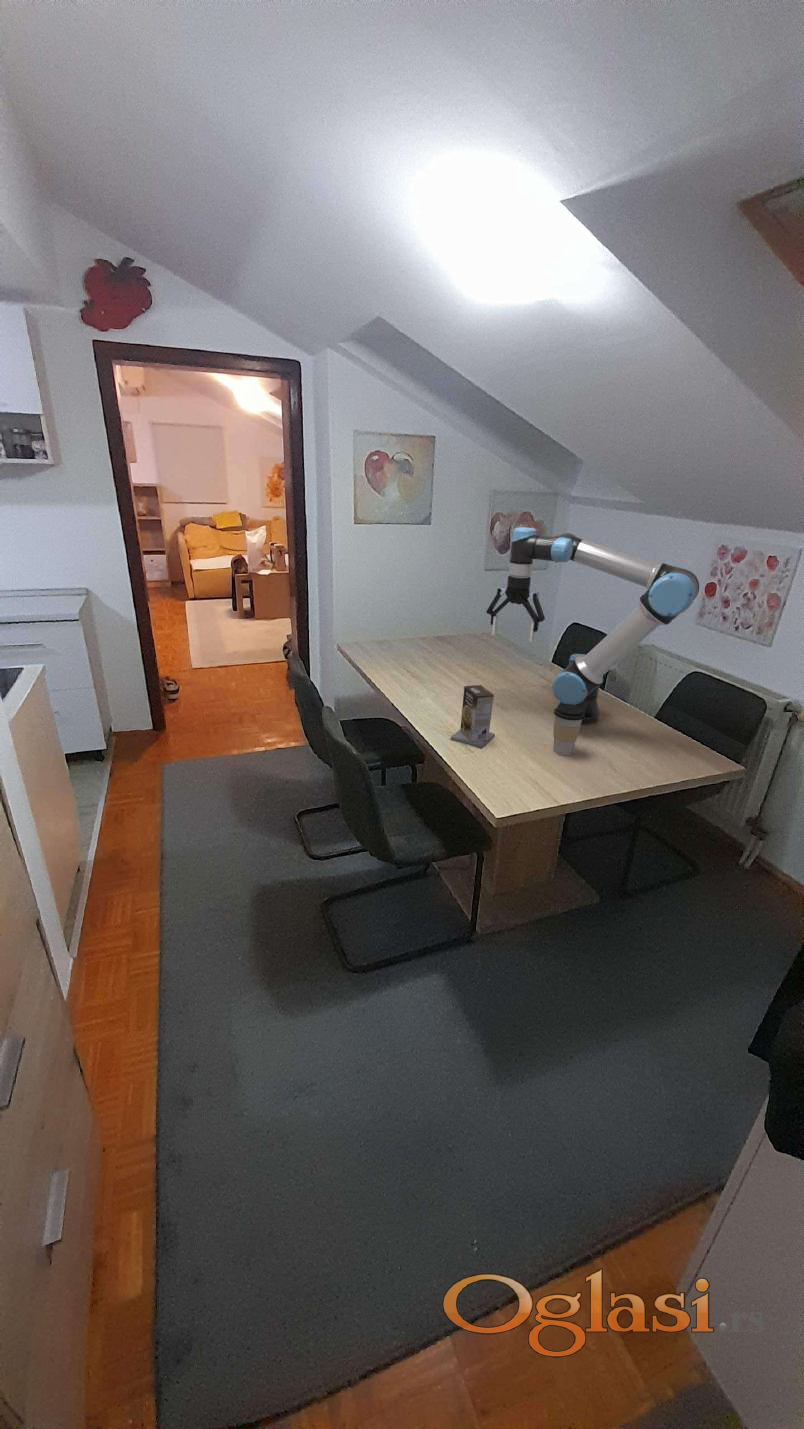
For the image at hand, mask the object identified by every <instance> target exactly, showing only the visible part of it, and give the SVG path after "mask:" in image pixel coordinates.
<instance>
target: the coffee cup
mask: <svg viewBox="0 0 804 1429" xmlns="http://www.w3.org/2000/svg"><path fill="white" fill-rule="evenodd" d="M553 715H554V720H553V744H552V745H553V749H552V750H553V752H554V753H555V754H557V755H561V756H571V755H572V754H573V751H574V748H575V745H576V742H577V740H578V736H579V732H580V730H581V726H582V724H581V722H582V719H584V718H585V716H584V715H585V714H584V712H583V709H582V708H581V707H579V706H576V705H573V704H560V705H558V704H557V707H556V708H554V711H553Z"/></svg>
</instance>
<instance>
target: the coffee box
mask: <svg viewBox="0 0 804 1429" xmlns="http://www.w3.org/2000/svg"><path fill="white" fill-rule="evenodd" d="M494 695H495V694H493V693H492V692H491V691H489V690H488V689H486V687H484V686H483V685H481V684H477V685H465V686H463V698H462V699H463V700H462V706H461V718H460V729H459V730H460V731H461V732H462V733H463V734H464V735H466V736H467V737H468V738H469V739H470V740H471V741H472V742H474V741H482V740H488V737H489V732H490V729H491V728H490V726H491V720H492V712H493V704H494Z"/></svg>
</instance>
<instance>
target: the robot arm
mask: <svg viewBox="0 0 804 1429" xmlns="http://www.w3.org/2000/svg"><path fill="white" fill-rule="evenodd" d="M510 541H511V544H510V545H511V546H510V555H509V556H510V557H509V558H510V559H509V565H508V566H509V567H508V574H509V575H508V577H507V584H506V589H505V588H503V587H499V588H497V591H496V594H495V596H494V598H493V599H492V601H491V602H490V604H489V606H488V608H487V609H486V614H489V616H490V625H491V626H492V629H491V630H492V631H491V636H495V635H497V631H498V623H499V615H497V614H498V613H500V611H501V610H503V608H505V607H506V606H507V605H508V604H509V603H511V604H516V605H522V606H523V607H524V608H525V610H526V611H527V613H528V615H529V616H530V618H531V619H532V622H531V625H530V632H529V633H530V634H529V642H533V641H534V640H535V634H536V633H537V632H538V630H539V625H540V623H542V622H543V621H545V620H546V618H545V614H544V611H543V608H542V605H541V602H540V600H539V592H538V591H536V592H531V591H530V588H531V580H532V579H531V577H530V576H531V575H532V571H533V563H534V560H538V561H539V560H540V561H547V562H555V563H567V562H569V561H572V562H575V563H578V564H581V565H583V566H585V567H589V568H592V569H594V570H596V571H597V570H598V571H600V572H603V573H605V574H608V575H611V576H614V577H616V578H619V579H622V580H625V581H628V582H630V583H633V584H635V585H639V586H641V587H644V588H646V591H645V592H644V593H643V594H642V595H641V596H640V597H639V598H638V606H636V608H635V609H633V610H632V612H630V613H629V614H628V615H627V616H626V617H625V618H624V619H623V620H622V621H621V622H619V623H618V624H617V625H616V626H615V627H614V628H613V629H612V630H611V631H610V632H609V633H608V634H607V635H606V636H605V637H604V638H603V639H601V640H600V642H598V644H596V645H595V646H594V647H593V648H592V649H591V650H590V651H589V652H588V653H587V654H584V653H583V654H582V653H573V654H571V655H570V658H569V659H568V665H567V666H566V667H565V668H564V669H563V670H562V671H561V672H560V673H558V674H557V675H555V677H554V679H553V681H552V686H551V687H552V693H553V696H554V697H555V698H556V700H558V701H559V702H558V704H557V706H558V705H560V704H573V705H576V706H579V707H581V708H582V709H583V712H584V714H585V715H584V716H585V718H584V719H582V722H581V725H591V724H594V723H597V722H598V721H599V718H600V709H599V704H598V703H599V702H598V696H599V691H600V685H601V684H602V683H603V682H604V681H603V680H604V678H603V677H604V675H605V674H607V673H608V672H609V671H610V670H611V669H612V668H613V667H615V665H616V664H618V663H619V662H620V661H621V660H623V658H624V657H626V656H627V655H628V654H629V653H630V652H631V651H632V650H634V648H636V647H637V646H638V645H639V644H640V643H641V642H643V641H644V639H646V638H647V637H649V635H650V634H651V633H653V631H655V630H656V629H657V628H658V627H659V626H668V625H669V624H670V623H671V622H672V621H673V620H675V619H676V618H677V617H678V616H679V615H681V614H682V613H685V612H686V611H687V610H688V609H690V607H691V605H692V604H693V602H694V600H695V599H696V598H697V596H698V594H699V592H700V580H699V579H698V576H697V575H695V573H694V572H692V571H690V570H688V569H686V568H682V567H678V566H673V565H670V564H667V563H664V562H661V563H658V564H656V563H653V562H650V561H647V560H644V559H642V558H638V557H635V556H633V555H629V554H626V553H625V552H621V551H617V550H615V549H612V548H610V547H607V546H603V545H601V544H599V543H595V542H592V541H588V540H586V539H582V538H580V537H578V536H576V534H574V533H570V532H565V533H562V534H559V535H558V534H557V535H554V536H549V535H546V536H545V535H539V534H538V533H537V529H536V528H533V527H526V526H525V527H524V526H523V527H521V526H520V527H515V528H514V529H513V533H512V538H511V540H510ZM504 594H505V595H506V598H505V599H504V600H503V601H502V603H501V604H499V605H498V606H497V607H496V605H497V604H498V602H499V601H500V599H501V597H502V595H504ZM529 597H530V598H531V600H532V602H533V605H534V608H535V609H534V608H533V607H532V605H531V603H530V600H529V599H528V598H529ZM495 607H496V608H495Z"/></svg>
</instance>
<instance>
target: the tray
mask: <svg viewBox="0 0 804 1429" xmlns="http://www.w3.org/2000/svg"><path fill="white" fill-rule="evenodd" d="M494 738H495V733H493V732H490V731H489V737H488V740H482V741H474V742H472V741H471V740H470V739H469V738H468V737H467V736H466V735H464V734H463V733H462V732H461V731H460V729H459V730H458V731H456V732H455V733H454V734H453V735H452V736H450V740H451V741H453V742H456V743H461V744H465V745H468V746H470V747H475V748H479V749H483V748H484V747H485V746H486V745H488V743H489V742H490V741H491V740H493V739H494Z"/></svg>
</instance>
